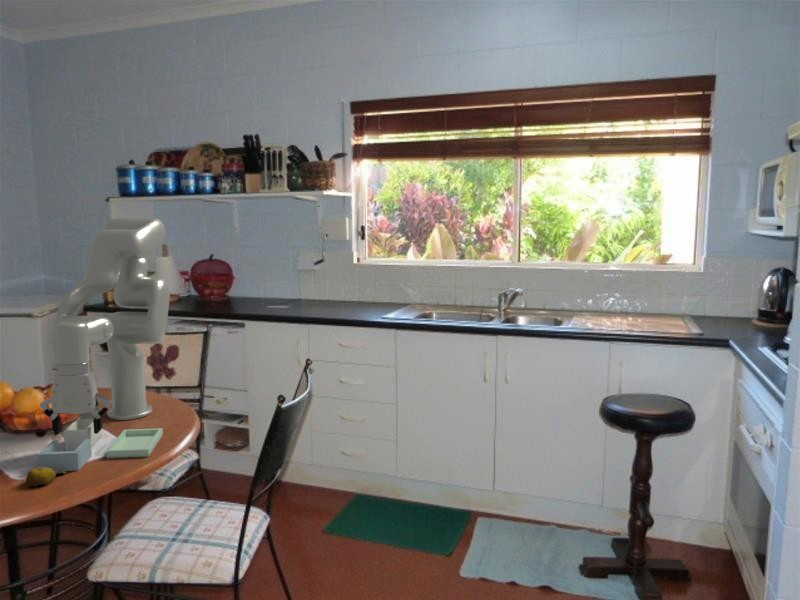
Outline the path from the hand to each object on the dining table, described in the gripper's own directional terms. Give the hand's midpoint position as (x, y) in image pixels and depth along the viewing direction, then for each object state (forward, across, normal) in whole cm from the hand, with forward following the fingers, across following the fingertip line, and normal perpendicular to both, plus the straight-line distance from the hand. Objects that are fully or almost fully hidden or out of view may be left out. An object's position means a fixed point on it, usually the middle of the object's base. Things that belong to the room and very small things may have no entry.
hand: (78, 432), depth 159 cm
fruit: (+6, -1, -17) cm, 18 cm away
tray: (+4, +14, 0) cm, 15 cm away
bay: (+5, 0, -9) cm, 10 cm away
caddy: (+5, 0, +3) cm, 6 cm away
